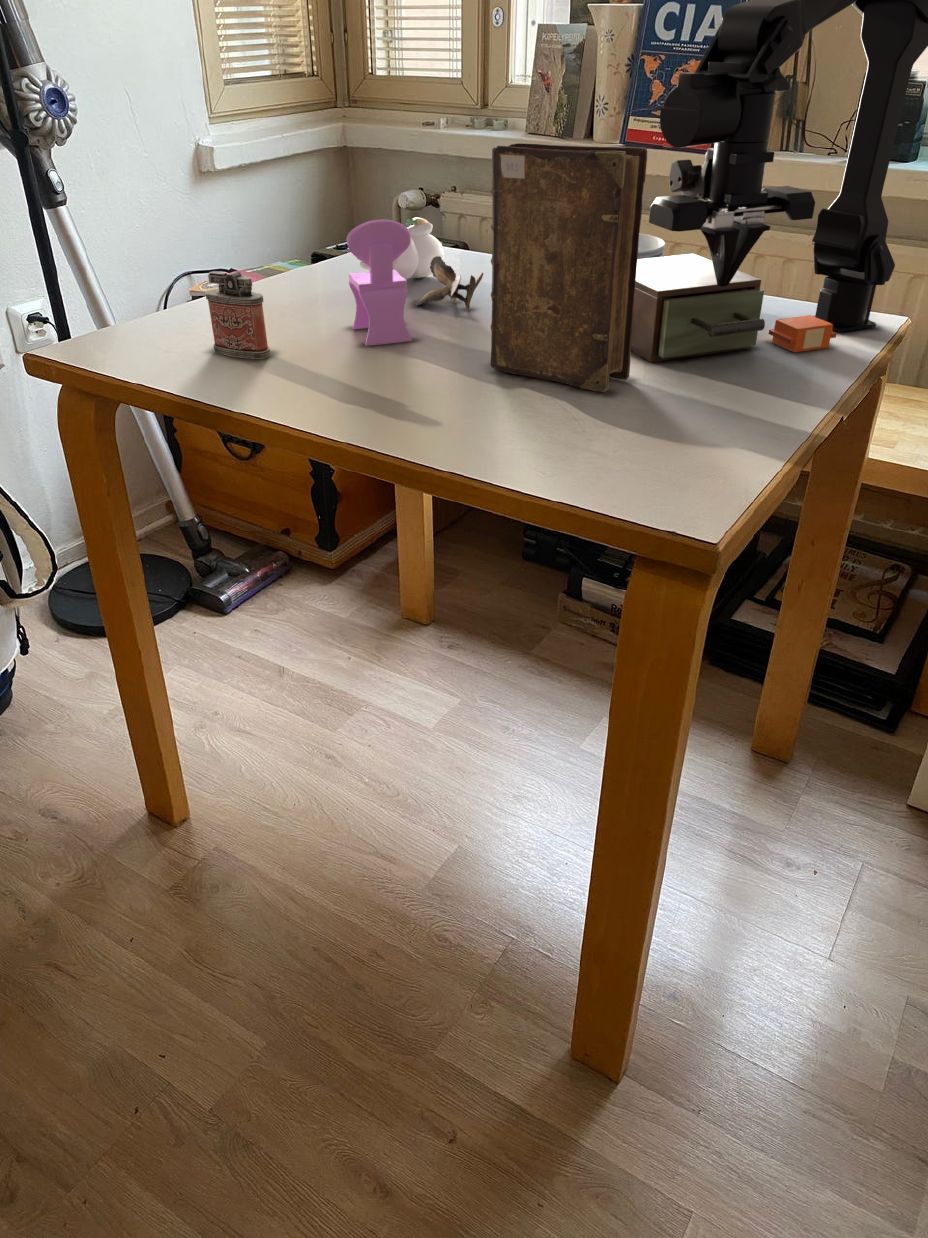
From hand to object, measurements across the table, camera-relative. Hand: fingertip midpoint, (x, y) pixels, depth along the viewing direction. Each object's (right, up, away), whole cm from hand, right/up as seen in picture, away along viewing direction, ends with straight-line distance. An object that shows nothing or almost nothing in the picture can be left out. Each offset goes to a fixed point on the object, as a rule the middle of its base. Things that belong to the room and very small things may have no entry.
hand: (722, 285), depth 112 cm
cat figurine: (-41, +16, +41) cm, 60 cm away
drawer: (-2, -4, +9) cm, 10 cm away
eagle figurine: (-33, +7, +27) cm, 44 cm away
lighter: (-60, -6, +10) cm, 61 cm away
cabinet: (-4, -2, +13) cm, 14 cm away
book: (-20, -10, +1) cm, 22 cm away
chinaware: (-9, +10, +31) cm, 34 cm away
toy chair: (-42, -1, +16) cm, 45 cm away
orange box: (+13, -4, +10) cm, 17 cm away
